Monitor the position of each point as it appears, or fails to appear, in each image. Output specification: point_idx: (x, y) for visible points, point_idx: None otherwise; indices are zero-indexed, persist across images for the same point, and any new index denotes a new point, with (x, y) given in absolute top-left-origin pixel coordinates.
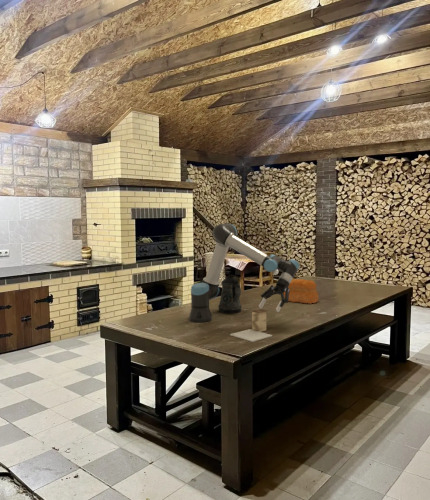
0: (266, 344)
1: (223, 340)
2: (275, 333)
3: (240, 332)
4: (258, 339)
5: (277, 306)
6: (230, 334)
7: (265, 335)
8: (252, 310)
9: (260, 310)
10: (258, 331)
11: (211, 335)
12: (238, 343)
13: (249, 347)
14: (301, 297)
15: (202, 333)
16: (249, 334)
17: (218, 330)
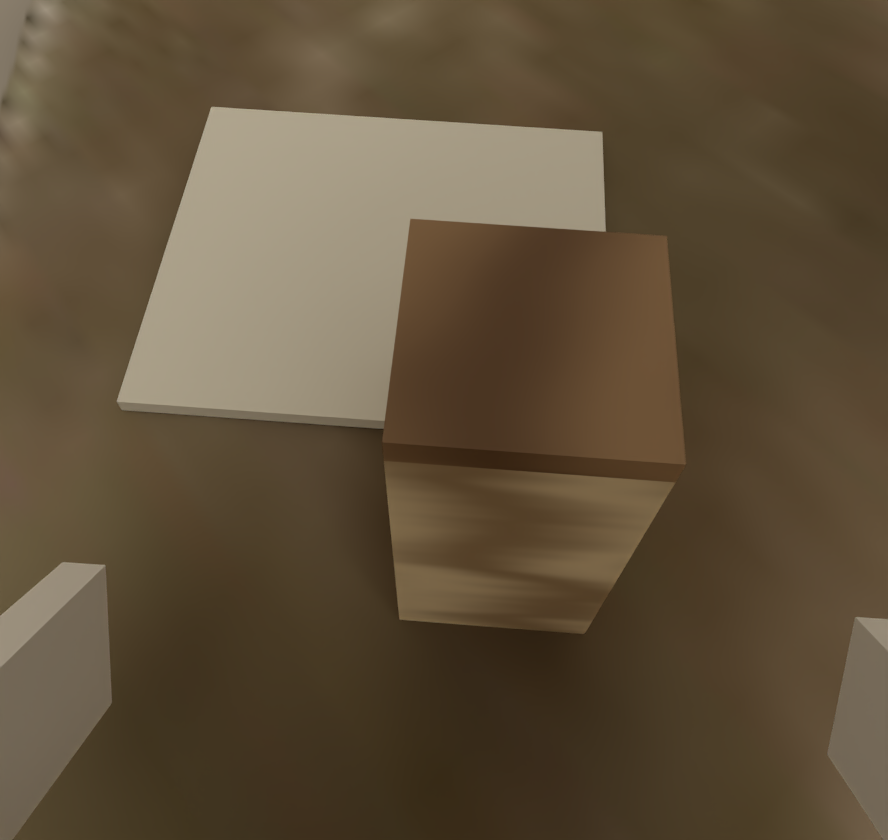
0: (30, 139)
1: (500, 11)
2: (155, 561)
3: None
4: (190, 180)
5: (24, 628)
6: (591, 131)
7: (200, 334)
8: (643, 234)
9: (495, 340)
10: None
11: (734, 45)
12: (311, 25)
13: (143, 6)
14: None
15: (864, 40)
16: None
17: (874, 193)
